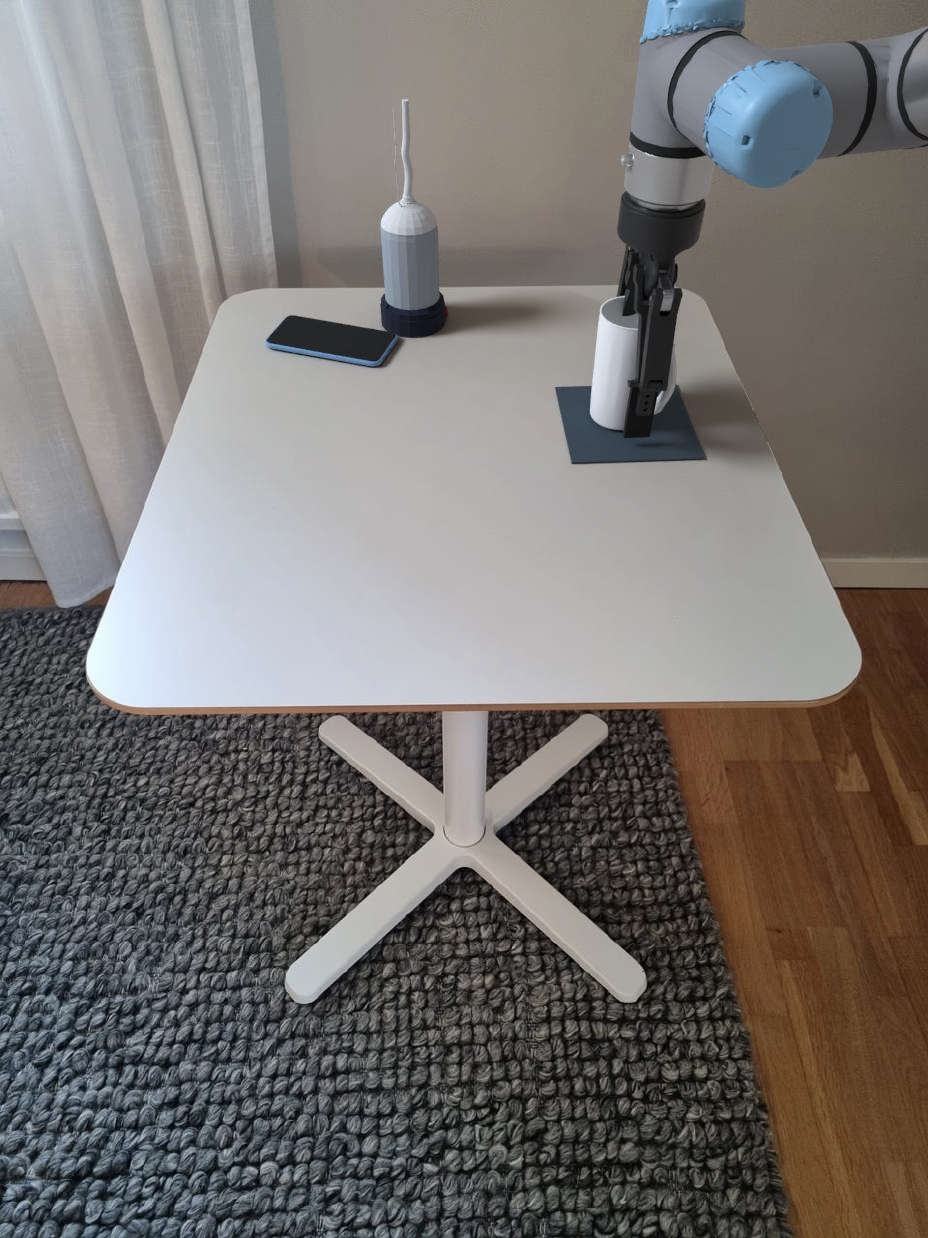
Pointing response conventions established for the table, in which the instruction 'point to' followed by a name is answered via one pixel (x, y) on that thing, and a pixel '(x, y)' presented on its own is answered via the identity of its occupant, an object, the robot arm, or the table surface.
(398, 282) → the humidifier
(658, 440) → the mat
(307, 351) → the smartphone
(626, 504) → the table surface
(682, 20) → the robot arm
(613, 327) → the mug
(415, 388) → the table surface
